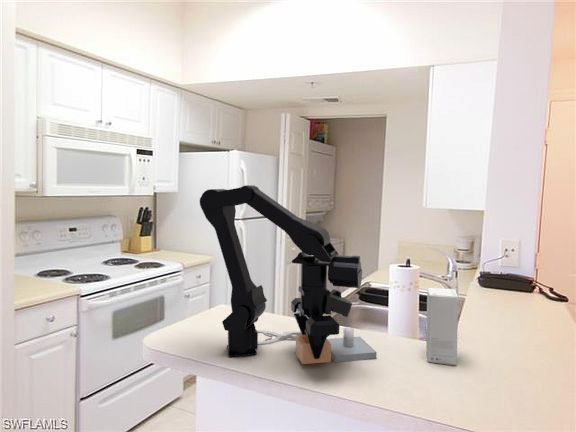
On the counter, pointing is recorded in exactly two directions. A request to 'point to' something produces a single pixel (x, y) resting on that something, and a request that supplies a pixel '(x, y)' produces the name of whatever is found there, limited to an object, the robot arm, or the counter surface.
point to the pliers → (278, 336)
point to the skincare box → (442, 326)
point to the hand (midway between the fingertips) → (312, 352)
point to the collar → (306, 353)
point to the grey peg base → (350, 348)
